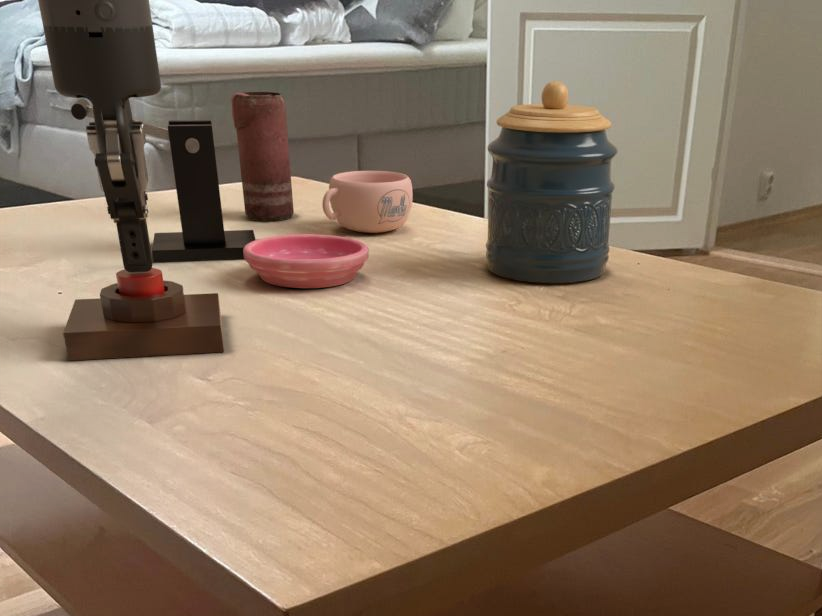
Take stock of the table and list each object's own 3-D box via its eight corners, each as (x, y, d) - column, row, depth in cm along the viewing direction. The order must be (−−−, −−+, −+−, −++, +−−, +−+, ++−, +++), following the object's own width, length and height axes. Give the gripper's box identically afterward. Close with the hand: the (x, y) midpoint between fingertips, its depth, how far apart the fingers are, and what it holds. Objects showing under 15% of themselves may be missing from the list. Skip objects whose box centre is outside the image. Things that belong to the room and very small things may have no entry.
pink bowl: (323, 258, 110) (321, 227, 108) (394, 280, 102) (393, 247, 100) (223, 275, 102) (219, 243, 101) (290, 301, 95) (287, 266, 93)
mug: (380, 218, 128) (378, 167, 125) (429, 230, 122) (429, 178, 119) (301, 230, 122) (297, 177, 118) (349, 244, 115) (346, 188, 112)
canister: (576, 253, 114) (588, 75, 104) (629, 280, 103) (647, 86, 94) (468, 260, 110) (470, 76, 100) (511, 289, 99) (518, 88, 90)
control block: (68, 360, 79) (57, 309, 77) (80, 325, 87) (70, 277, 85) (224, 352, 82) (217, 302, 79) (221, 318, 90) (215, 271, 88)
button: (118, 301, 81) (114, 278, 80) (120, 289, 84) (117, 268, 83) (164, 299, 81) (161, 277, 80) (165, 287, 84) (162, 266, 83)
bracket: (153, 262, 107) (132, 128, 100) (156, 244, 114) (136, 118, 107) (258, 258, 109) (245, 127, 102) (254, 240, 116) (241, 117, 109)
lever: (69, 122, 100) (72, 96, 99) (74, 116, 104) (76, 91, 103) (204, 161, 105) (208, 136, 103) (203, 154, 109) (207, 130, 108)
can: (237, 214, 129) (224, 91, 121) (285, 210, 131) (275, 89, 124) (251, 223, 124) (238, 96, 117) (300, 219, 127) (290, 94, 119)
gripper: (52, 16, 77) (97, 253, 86) (29, 23, 66) (83, 293, 75) (154, 17, 78) (187, 250, 88) (148, 24, 67) (186, 288, 77)
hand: (139, 269), depth 81 cm, fingers closed
